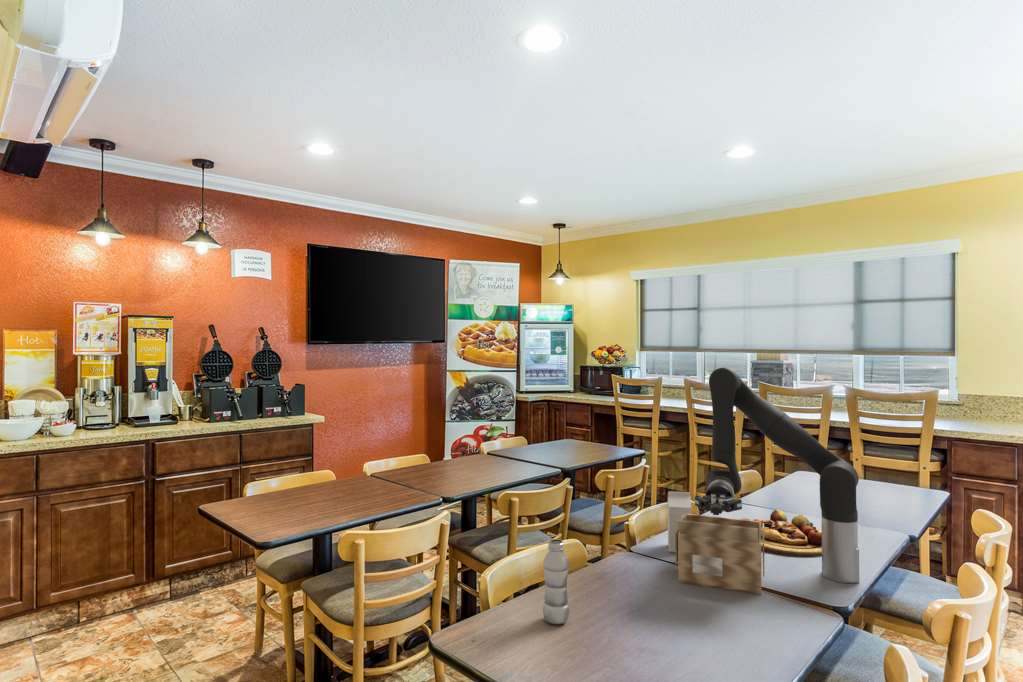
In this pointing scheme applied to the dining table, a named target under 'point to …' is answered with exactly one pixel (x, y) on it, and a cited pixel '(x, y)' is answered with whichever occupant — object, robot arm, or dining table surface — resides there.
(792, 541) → the wooden plate with food
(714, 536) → the front flap
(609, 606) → the dining table surface
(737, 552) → the light wooden open box
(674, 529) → the milk carton
